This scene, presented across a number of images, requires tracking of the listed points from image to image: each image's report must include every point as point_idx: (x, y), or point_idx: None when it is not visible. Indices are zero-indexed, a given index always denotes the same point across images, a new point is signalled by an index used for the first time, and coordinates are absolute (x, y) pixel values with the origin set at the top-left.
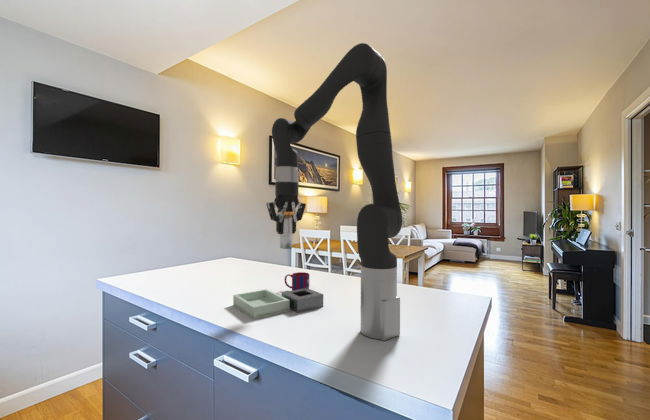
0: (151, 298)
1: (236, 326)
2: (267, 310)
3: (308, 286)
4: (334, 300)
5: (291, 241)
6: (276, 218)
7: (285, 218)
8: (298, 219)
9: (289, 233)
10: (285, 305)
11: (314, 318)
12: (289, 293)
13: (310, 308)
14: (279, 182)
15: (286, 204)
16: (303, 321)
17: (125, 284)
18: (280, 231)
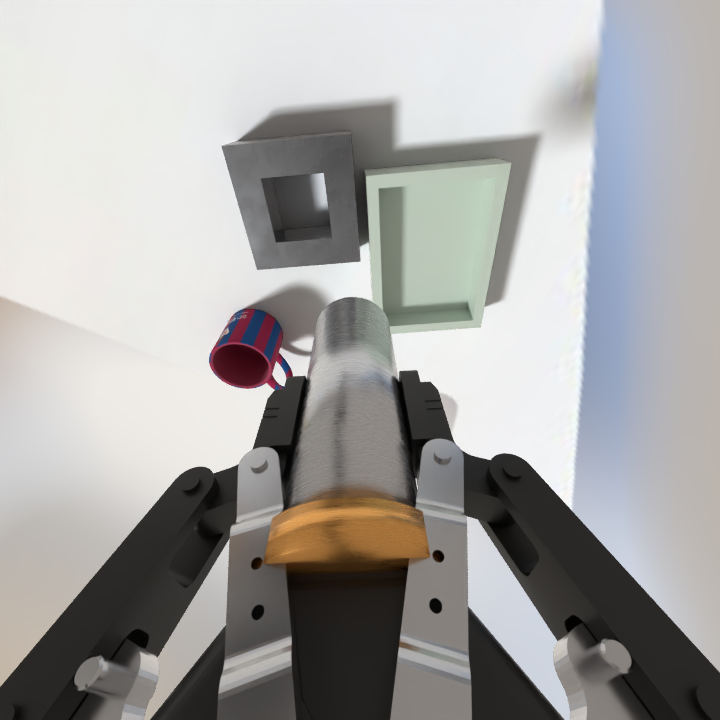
0: (573, 431)
1: (570, 122)
2: (452, 164)
3: (229, 323)
4: (171, 186)
5: (329, 325)
6: (506, 472)
7: (393, 472)
8: (216, 479)
9: (348, 354)
10: (381, 172)
11: (321, 15)
12: (340, 235)
13: (293, 136)
14: None
15: (419, 717)
16: (374, 9)
17: None
18: (419, 383)
